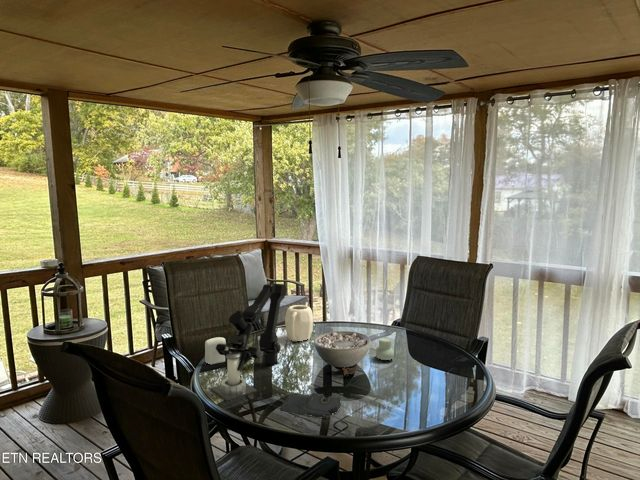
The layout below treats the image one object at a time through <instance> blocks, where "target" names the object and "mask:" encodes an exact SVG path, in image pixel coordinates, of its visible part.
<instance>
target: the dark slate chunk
mask: <svg viewBox="0 0 640 480" xmlns="http://www.w3.org/2000/svg"><path fill="white" fill-rule="evenodd" d="M340 401H341V398H340V397H339V396H333V395H332V396H331V395H329V396H328V397H326V396H325V394H318V393H315V392H314V393H311V394H304V393H300V392H291V393H290V394H289V395H288V396H287V398H285V400H284V401H283V403H282V405H281V407H280V411H282V412H285V413H291V414H295V415H300V414H307V415H312V416H315V417H314V418H316V417H324V418H328V417H329V416H330V415H332V413H335V412H337V411H338V409H339V408H340V406H342V402H341V403H340ZM340 409H341V408H340ZM340 409H339V410H340ZM338 412H339V411H338Z"/></svg>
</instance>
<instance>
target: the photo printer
mask: <svg viewBox="0 0 640 480" xmlns="http://www.w3.org/2000/svg"><path fill="white" fill-rule="evenodd" d="M219 343H220V344H226V345H227V342H226V338H224V337H220V336H218V337H213V338H210V339H207V340H205V342H204V363H205V362H206V363H208V364H210V365H215V364H221V363H224V362H225V355H220V354H219V353H218V351H217V350H216V346H217V344H219Z"/></svg>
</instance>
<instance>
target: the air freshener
mask: <svg viewBox="0 0 640 480" xmlns="http://www.w3.org/2000/svg"><path fill="white" fill-rule="evenodd" d="M376 356H377V357H376ZM375 357H376V358H378V359H377V360H379V359H381V360H380V361H382V360H389V361H392V360H394V358H395V351H394V347H392V339H390V338H389V337H388V338H387V337H382V338H379V341H378V346H377V347H376V348H375ZM391 359H392V360H391Z"/></svg>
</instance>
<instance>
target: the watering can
mask: <svg viewBox="0 0 640 480" xmlns="http://www.w3.org/2000/svg"><path fill="white" fill-rule="evenodd" d="M308 304H309V302H307V301H306V302H305V304H297V305H296V304H294V305H291V306H289V307H287V310H286V312H285V318H284V324H285V331H286V335H287V338H288V339H289V340H290V341H291V340H292V341H291V342H297V341H302V342H304V341H303V340H307V339H308V340H310V339H311V336H312V333H313V327H314V314H313V313H314V312H313V310H312V308H311V307H310V306H309V305H308ZM308 340H307V341H308Z"/></svg>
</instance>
